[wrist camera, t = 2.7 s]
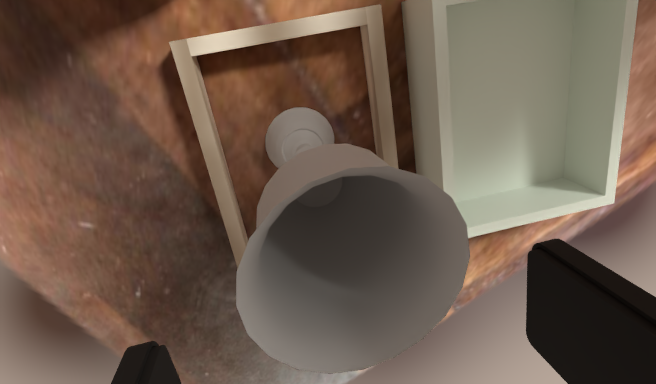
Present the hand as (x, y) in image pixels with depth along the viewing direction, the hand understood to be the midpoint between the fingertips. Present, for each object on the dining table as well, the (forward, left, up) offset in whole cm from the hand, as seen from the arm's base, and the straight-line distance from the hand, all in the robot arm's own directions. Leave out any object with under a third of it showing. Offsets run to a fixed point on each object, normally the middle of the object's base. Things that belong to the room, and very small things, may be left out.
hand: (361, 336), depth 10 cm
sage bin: (-15, 0, -20) cm, 25 cm away
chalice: (0, 0, -20) cm, 20 cm away
